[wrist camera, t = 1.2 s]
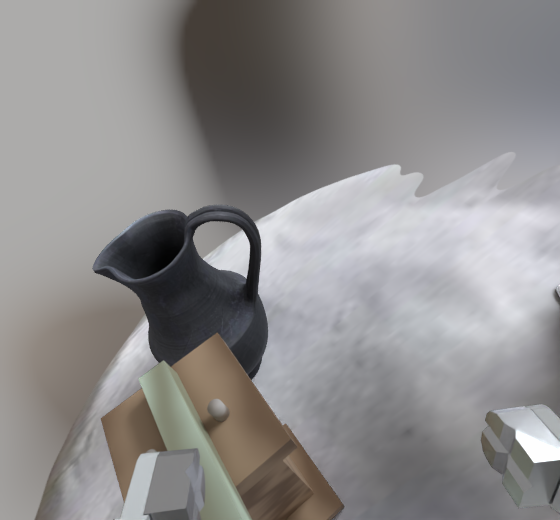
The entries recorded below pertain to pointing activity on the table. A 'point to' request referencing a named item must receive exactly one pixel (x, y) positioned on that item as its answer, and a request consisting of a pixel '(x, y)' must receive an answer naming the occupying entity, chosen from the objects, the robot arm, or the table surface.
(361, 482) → the table surface
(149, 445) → the shelf stand
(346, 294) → the table surface
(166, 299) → the pitcher
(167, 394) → the bar
